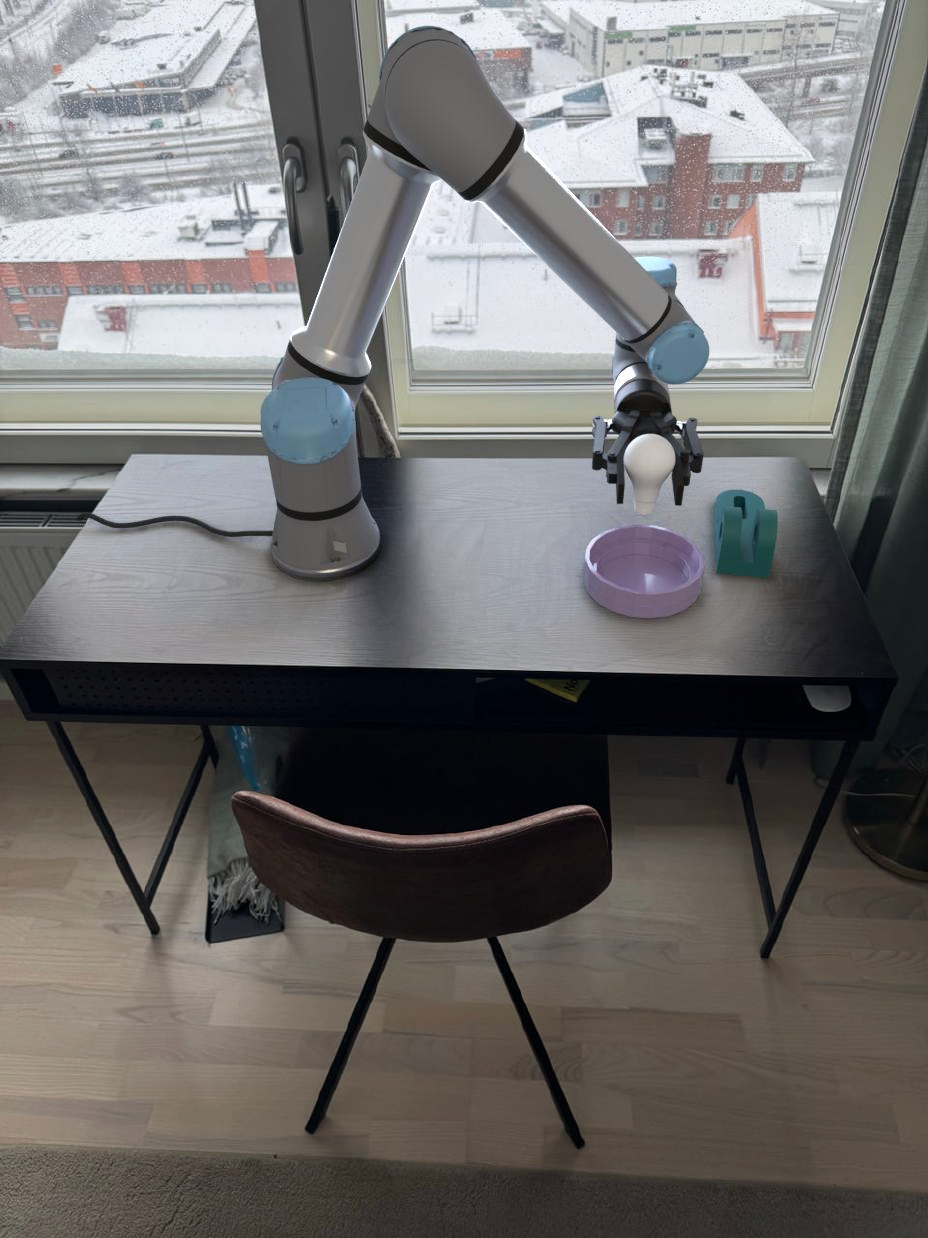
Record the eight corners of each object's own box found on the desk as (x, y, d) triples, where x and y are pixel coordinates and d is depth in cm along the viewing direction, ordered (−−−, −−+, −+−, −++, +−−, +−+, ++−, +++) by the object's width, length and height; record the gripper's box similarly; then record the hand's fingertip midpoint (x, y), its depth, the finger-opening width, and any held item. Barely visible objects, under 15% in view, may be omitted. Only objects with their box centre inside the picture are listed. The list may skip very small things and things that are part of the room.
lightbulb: (633, 496, 121) (640, 419, 114) (676, 510, 118) (686, 432, 111) (610, 518, 117) (616, 440, 110) (654, 534, 114) (663, 454, 107)
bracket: (768, 577, 124) (779, 528, 119) (716, 573, 125) (725, 524, 120) (760, 504, 138) (769, 457, 133) (713, 500, 139) (721, 454, 134)
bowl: (566, 603, 121) (568, 575, 118) (606, 541, 132) (608, 514, 129) (681, 634, 116) (685, 606, 113) (712, 567, 126) (717, 540, 123)
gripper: (709, 429, 128) (728, 524, 111) (570, 426, 130) (567, 519, 113) (717, 378, 124) (738, 469, 106) (572, 376, 126) (569, 465, 108)
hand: (650, 494), depth 109 cm, fingers closed on lightbulb, 6 cm apart
